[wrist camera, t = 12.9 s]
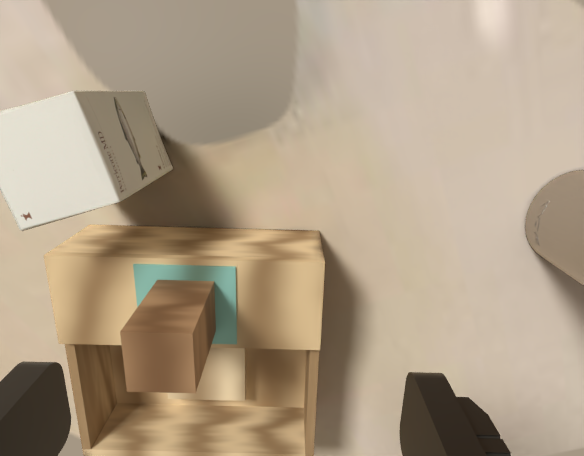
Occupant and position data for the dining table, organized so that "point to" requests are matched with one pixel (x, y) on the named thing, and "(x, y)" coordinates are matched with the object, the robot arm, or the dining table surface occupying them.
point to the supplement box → (77, 154)
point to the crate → (225, 346)
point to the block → (169, 337)
